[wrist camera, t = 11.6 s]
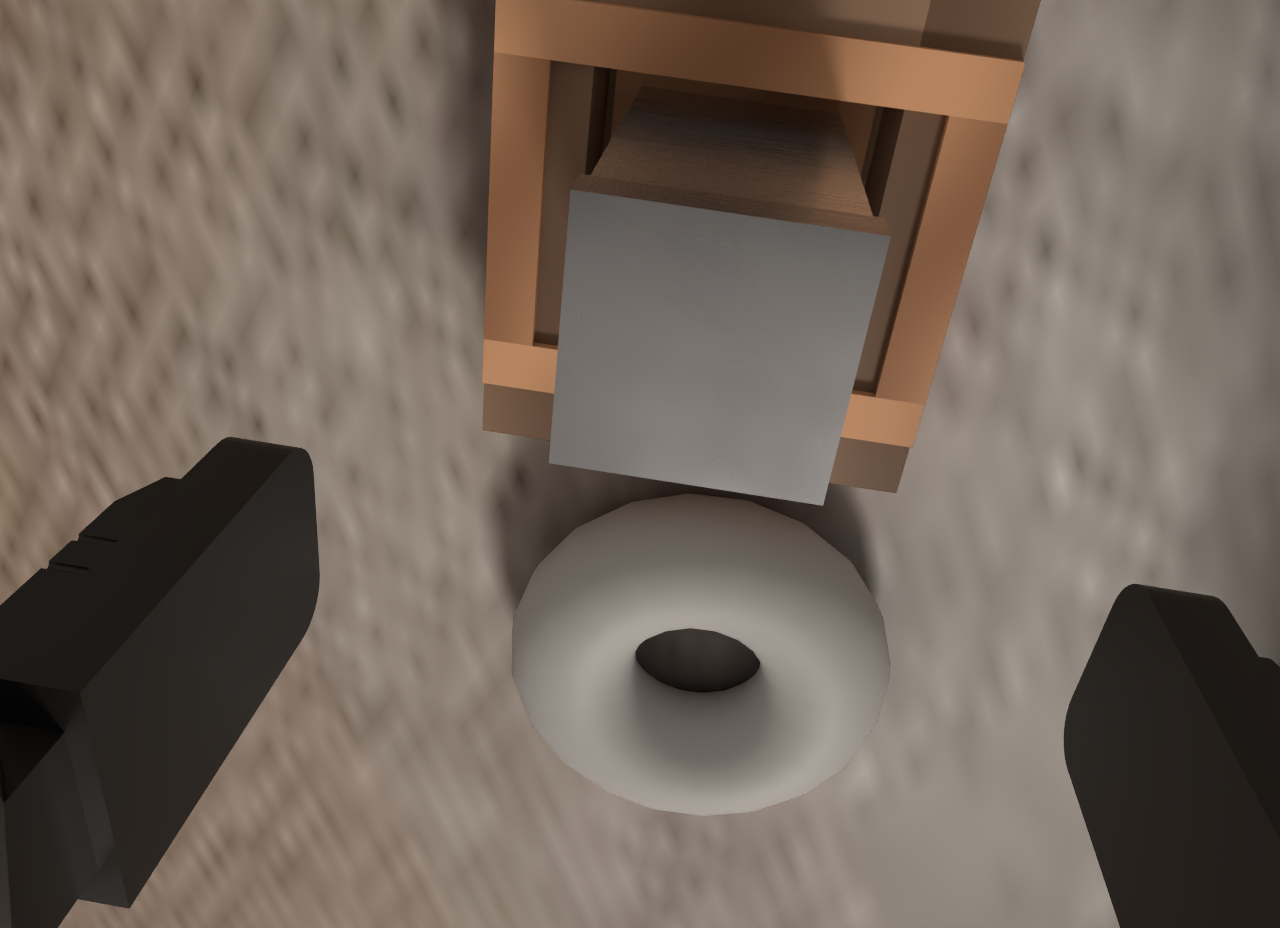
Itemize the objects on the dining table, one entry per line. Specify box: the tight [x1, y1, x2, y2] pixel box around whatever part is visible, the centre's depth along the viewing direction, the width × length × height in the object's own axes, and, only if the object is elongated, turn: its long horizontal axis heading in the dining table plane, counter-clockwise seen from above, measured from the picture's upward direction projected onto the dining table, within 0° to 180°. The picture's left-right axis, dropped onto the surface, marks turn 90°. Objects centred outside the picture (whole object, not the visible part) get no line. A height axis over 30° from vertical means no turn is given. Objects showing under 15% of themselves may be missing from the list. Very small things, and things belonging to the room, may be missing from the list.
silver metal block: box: [549, 86, 891, 506], centre depth 18 cm, size 4×4×8 cm
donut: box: [512, 493, 890, 816], centre depth 26 cm, size 10×4×10 cm
